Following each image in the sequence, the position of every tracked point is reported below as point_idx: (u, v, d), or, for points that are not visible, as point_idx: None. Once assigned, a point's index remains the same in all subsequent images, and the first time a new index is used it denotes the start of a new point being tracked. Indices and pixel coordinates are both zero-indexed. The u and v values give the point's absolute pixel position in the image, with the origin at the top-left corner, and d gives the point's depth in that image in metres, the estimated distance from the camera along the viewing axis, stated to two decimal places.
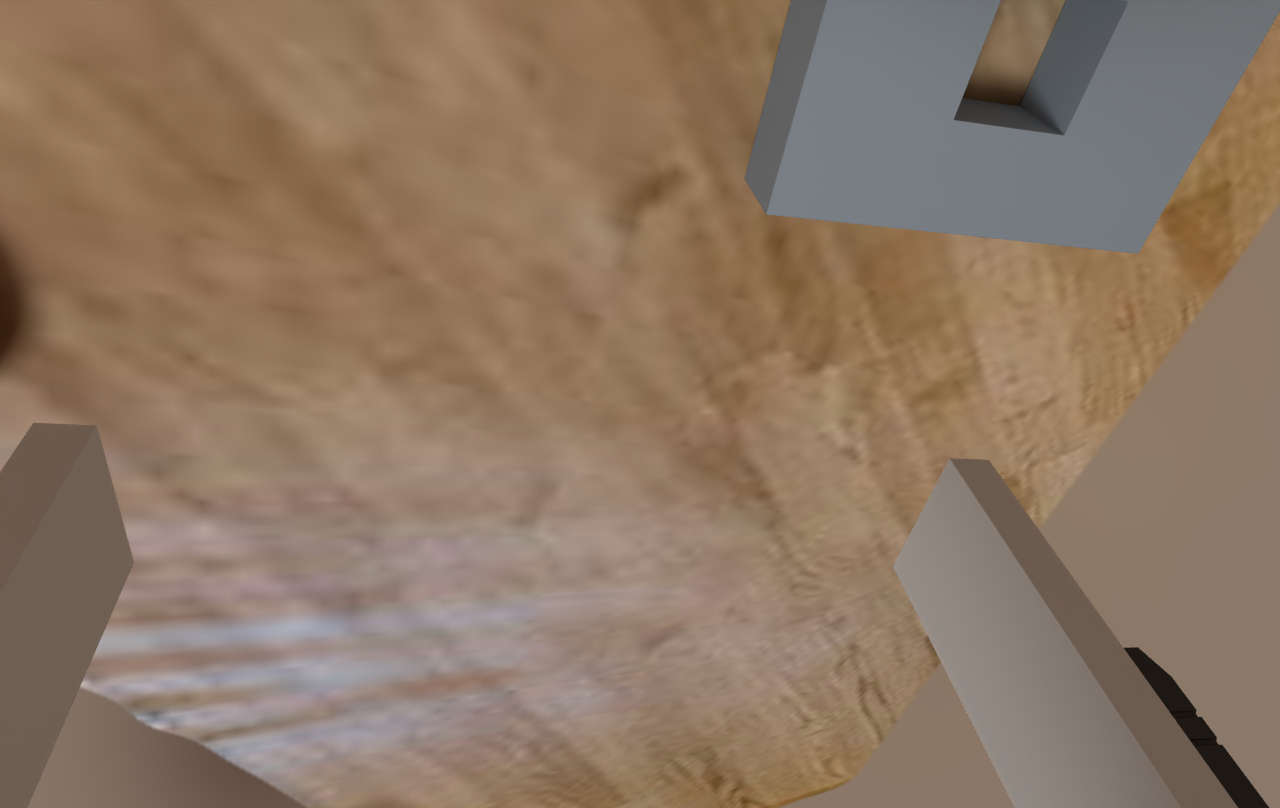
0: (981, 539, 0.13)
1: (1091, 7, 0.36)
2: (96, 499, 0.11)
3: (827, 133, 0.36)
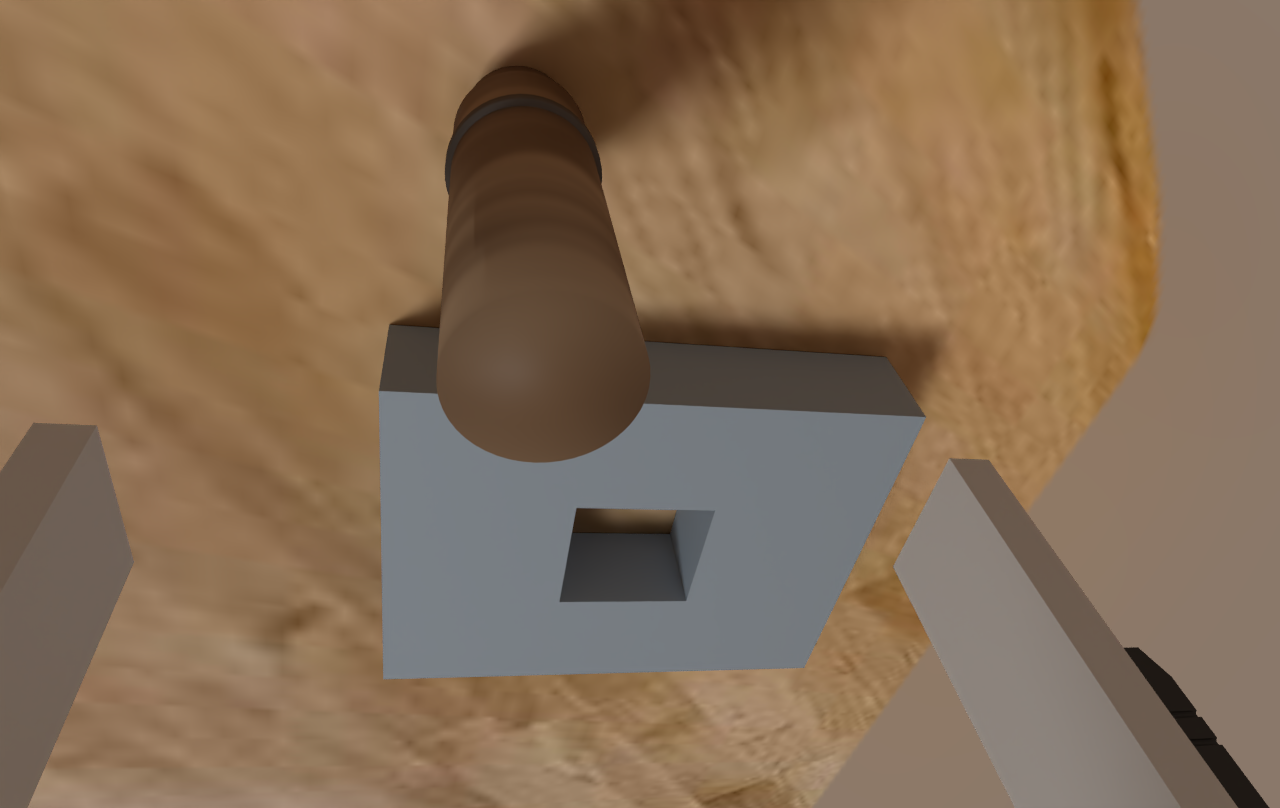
0: (981, 538, 0.13)
1: None
2: (96, 499, 0.11)
3: (425, 622, 0.35)
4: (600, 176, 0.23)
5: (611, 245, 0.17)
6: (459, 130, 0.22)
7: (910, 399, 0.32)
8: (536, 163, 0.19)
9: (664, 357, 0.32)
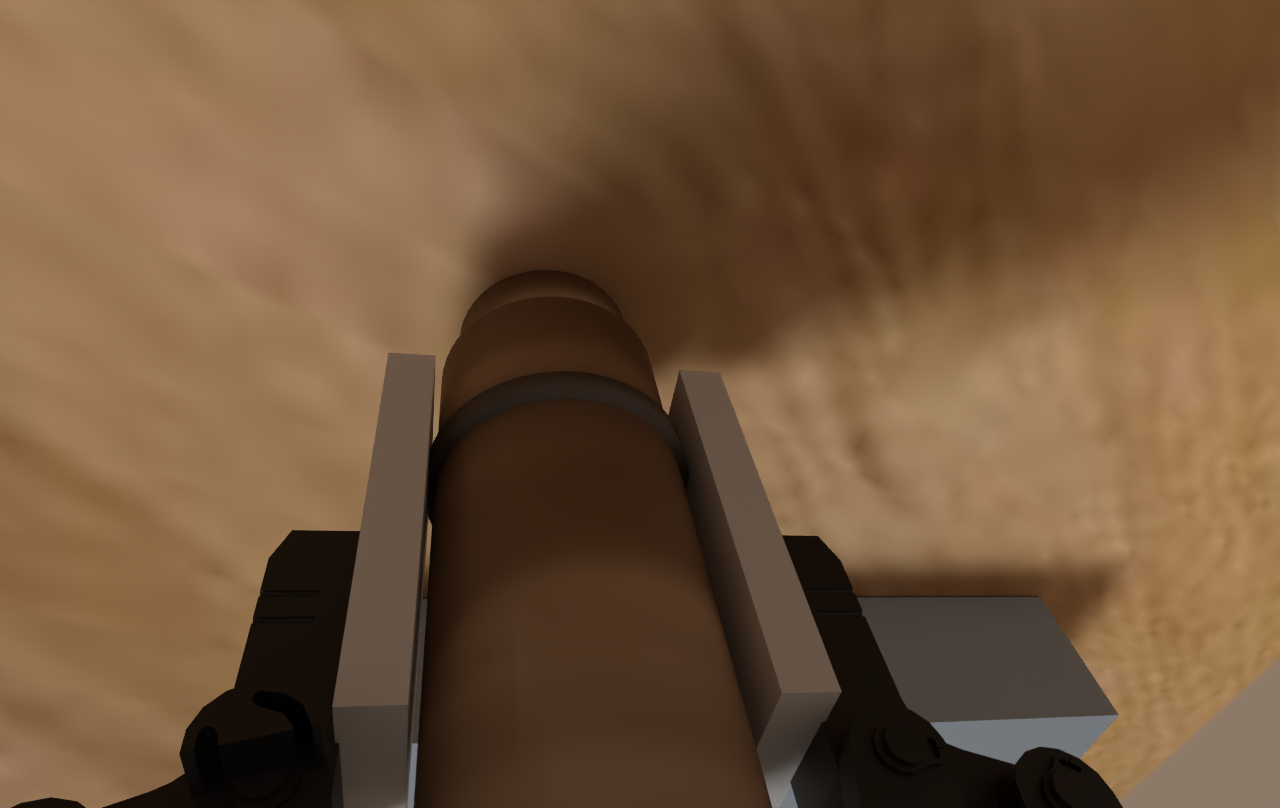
0: (691, 440, 0.14)
1: None
2: (432, 416, 0.14)
3: None
4: (686, 485, 0.14)
5: None
6: (449, 437, 0.13)
7: (1089, 679, 0.23)
8: (598, 603, 0.09)
9: None
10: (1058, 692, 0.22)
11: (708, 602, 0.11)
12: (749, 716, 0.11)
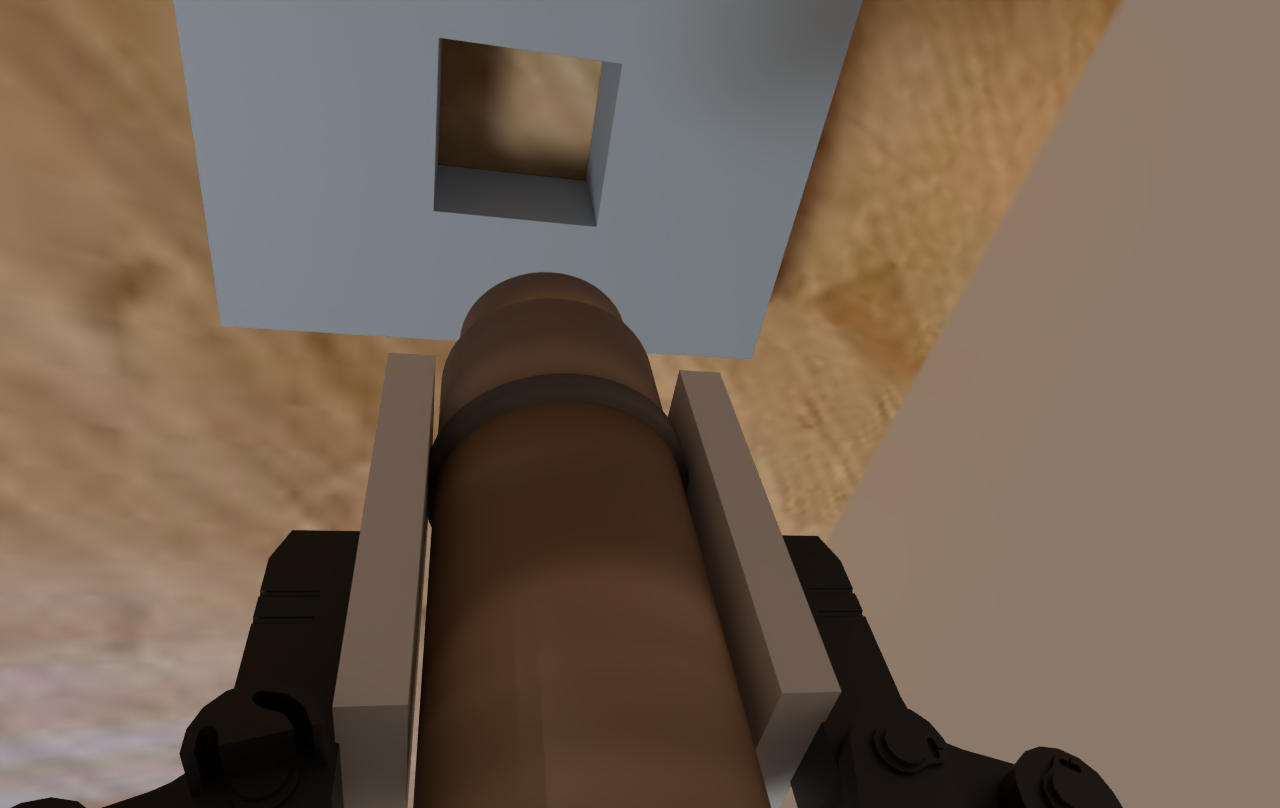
0: (691, 440, 0.14)
1: (610, 66, 0.28)
2: (432, 416, 0.14)
3: (262, 229, 0.28)
4: (686, 488, 0.14)
5: None
6: (448, 439, 0.13)
7: None
8: (598, 606, 0.09)
9: None
10: None
11: (708, 605, 0.11)
12: (749, 716, 0.11)
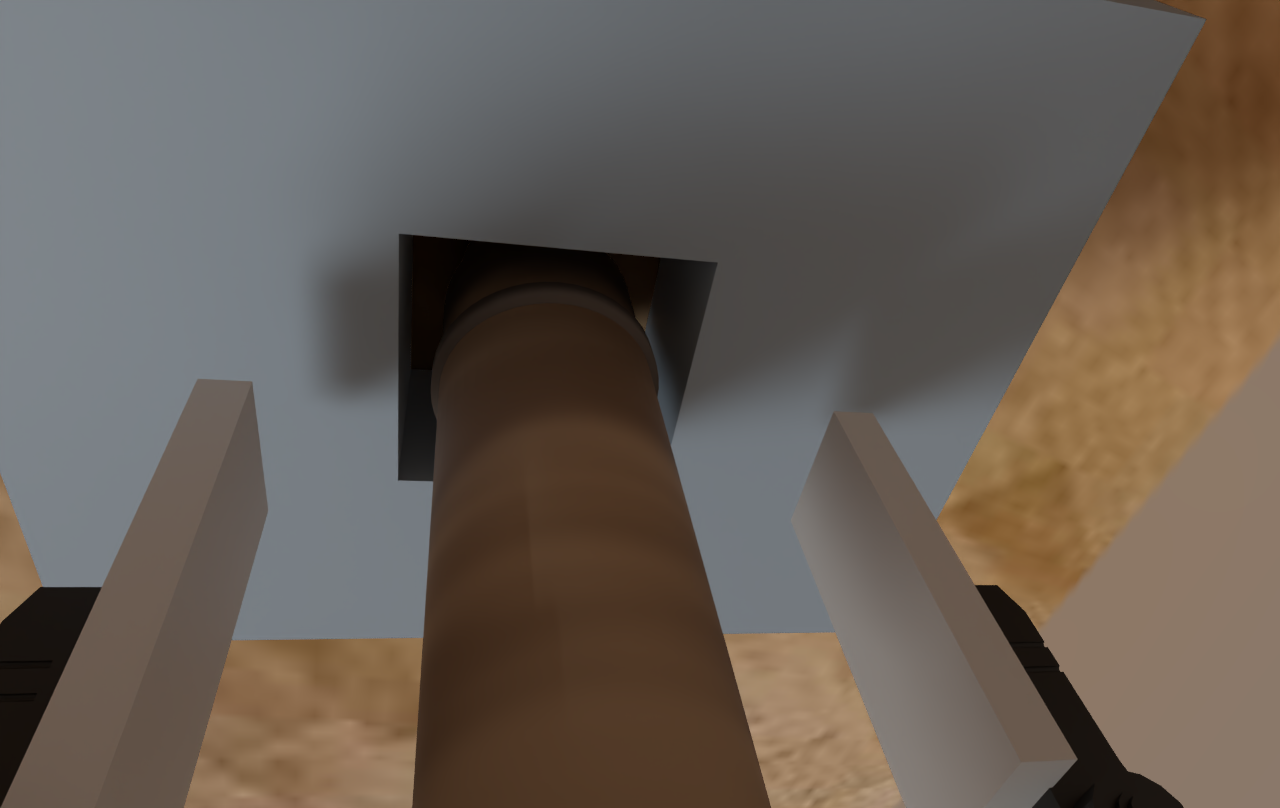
0: (856, 485, 0.14)
1: None
2: (250, 448, 0.13)
3: (113, 519, 0.17)
4: (656, 387, 0.16)
5: (707, 618, 0.10)
6: (451, 337, 0.15)
7: (1155, 1, 0.14)
8: (574, 445, 0.12)
9: None
10: None
11: (668, 459, 0.13)
12: (965, 779, 0.10)
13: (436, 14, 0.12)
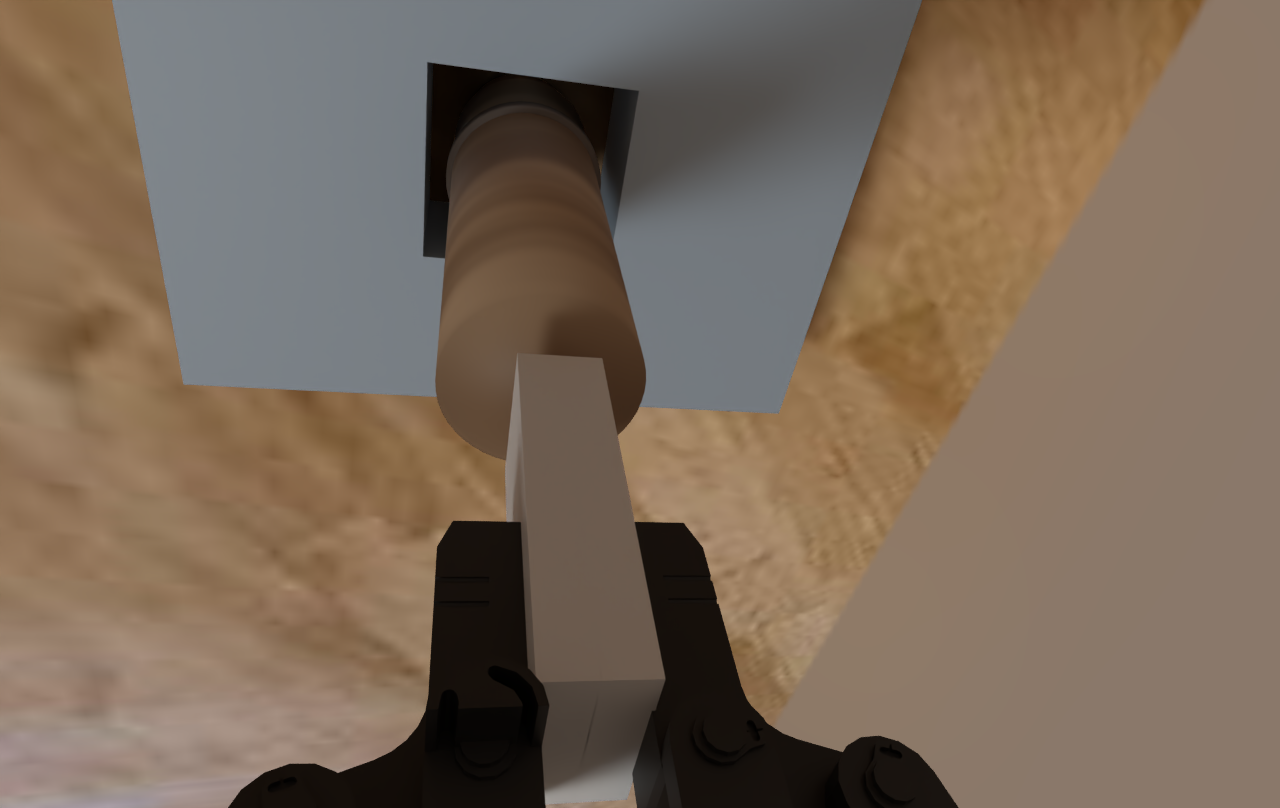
0: None
1: (624, 92, 0.25)
2: None
3: (227, 279, 0.24)
4: (599, 182, 0.24)
5: (608, 250, 0.18)
6: (460, 137, 0.22)
7: None
8: (535, 169, 0.19)
9: None
10: None
11: (596, 195, 0.20)
12: None
13: None
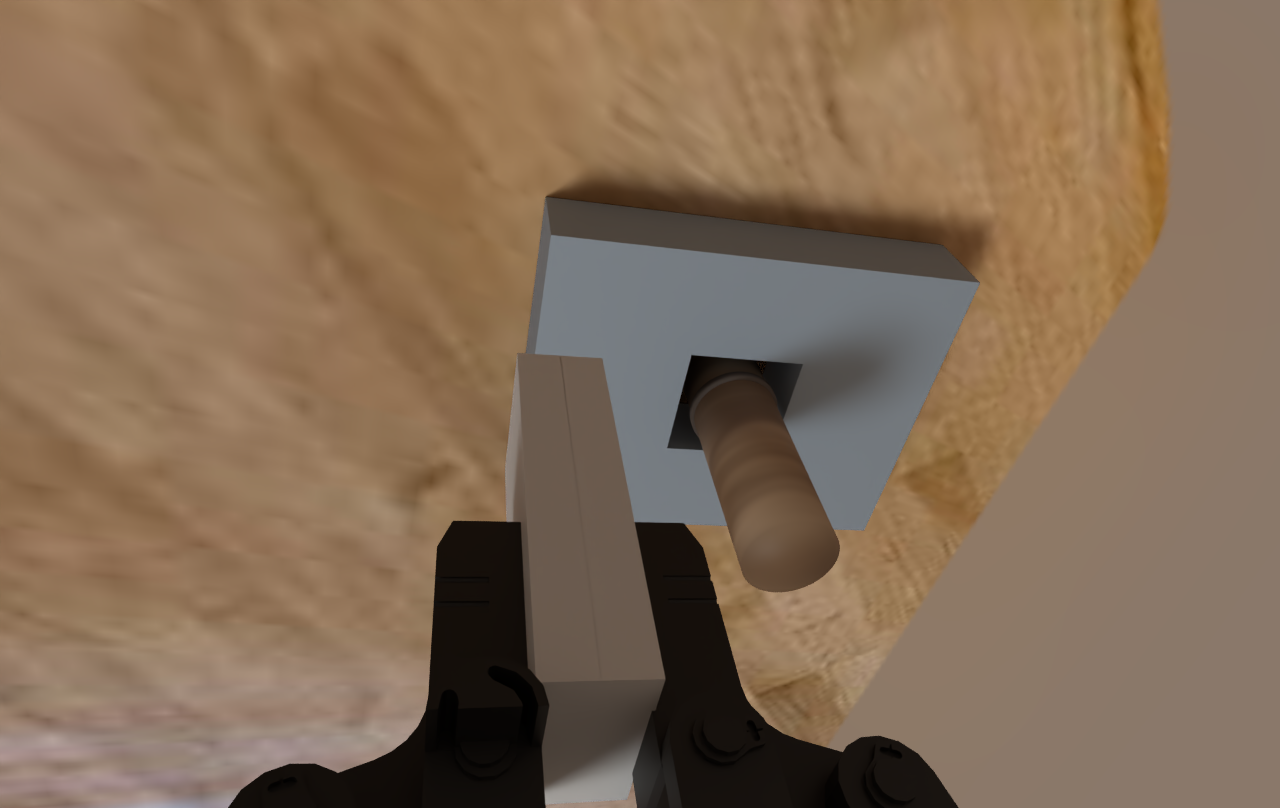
0: None
1: None
2: None
3: None
4: None
5: (810, 480, 0.35)
6: (703, 392, 0.39)
7: (965, 271, 0.39)
8: (764, 430, 0.36)
9: (765, 232, 0.39)
10: (946, 272, 0.39)
11: (790, 436, 0.37)
12: None
13: (719, 289, 0.37)
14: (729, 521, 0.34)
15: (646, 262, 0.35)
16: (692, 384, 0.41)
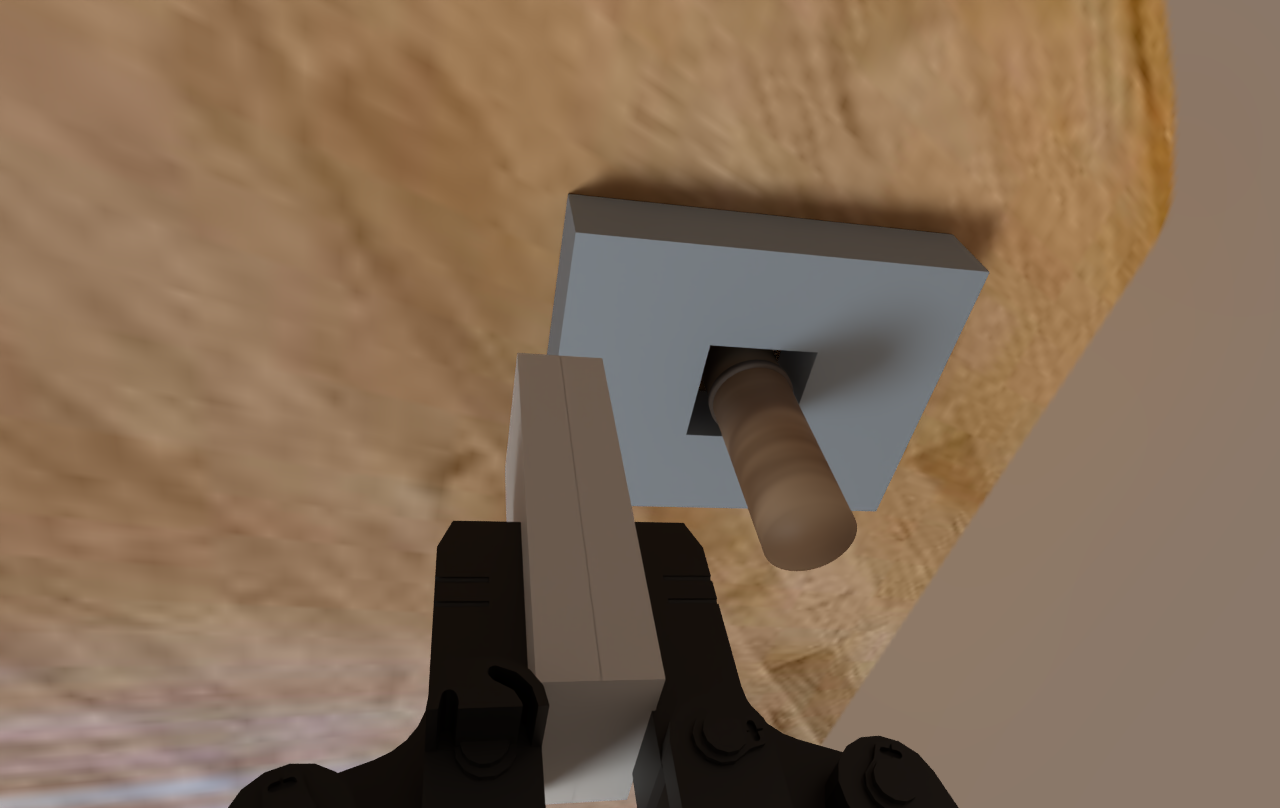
0: None
1: None
2: None
3: None
4: None
5: (827, 464, 0.36)
6: (722, 379, 0.41)
7: (975, 260, 0.41)
8: (782, 415, 0.38)
9: (780, 225, 0.40)
10: (956, 262, 0.40)
11: None
12: None
13: (737, 282, 0.38)
14: (750, 504, 0.36)
15: (666, 257, 0.37)
16: (710, 372, 0.42)
